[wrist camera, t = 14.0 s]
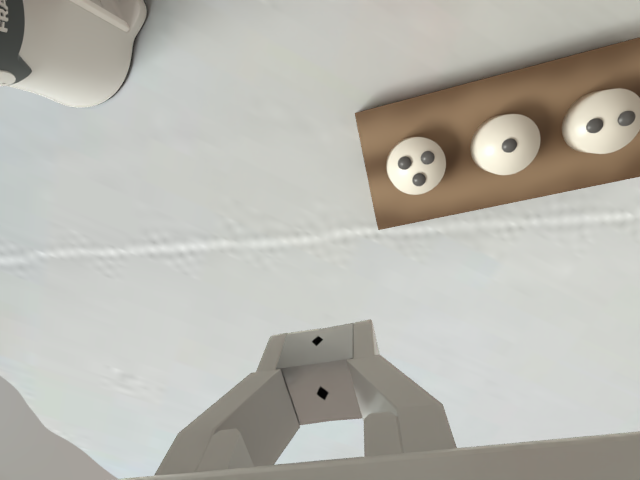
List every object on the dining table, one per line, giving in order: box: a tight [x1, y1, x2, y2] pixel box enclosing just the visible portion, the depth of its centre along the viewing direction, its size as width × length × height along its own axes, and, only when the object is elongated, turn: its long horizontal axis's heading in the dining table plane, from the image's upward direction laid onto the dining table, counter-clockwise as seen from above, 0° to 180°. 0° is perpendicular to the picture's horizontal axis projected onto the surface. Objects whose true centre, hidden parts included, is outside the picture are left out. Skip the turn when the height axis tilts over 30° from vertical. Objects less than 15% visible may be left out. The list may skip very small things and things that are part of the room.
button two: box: [562, 88, 640, 154], centre depth 29 cm, size 5×5×2 cm
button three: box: [386, 137, 446, 195], centre depth 31 cm, size 5×5×2 cm
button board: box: [355, 37, 640, 230], centre depth 33 cm, size 12×25×3 cm, turn 104°
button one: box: [470, 114, 540, 175], centre depth 30 cm, size 5×5×2 cm
